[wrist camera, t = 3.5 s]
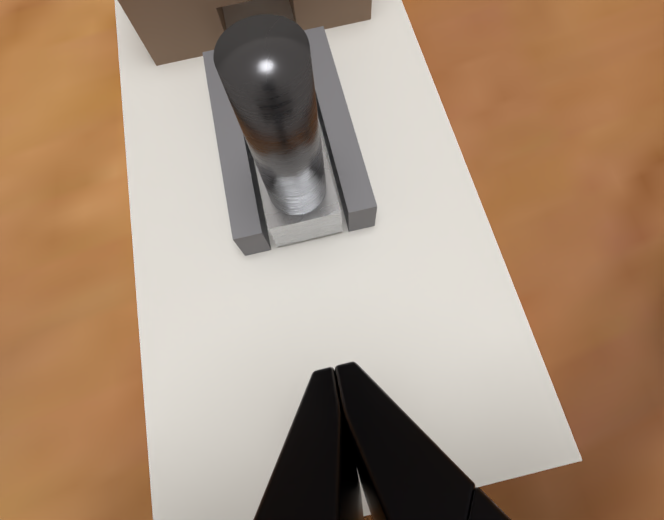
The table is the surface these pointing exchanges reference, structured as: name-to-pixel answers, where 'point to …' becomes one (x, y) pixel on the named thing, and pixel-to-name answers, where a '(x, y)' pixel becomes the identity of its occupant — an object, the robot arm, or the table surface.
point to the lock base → (314, 262)
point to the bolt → (280, 124)
